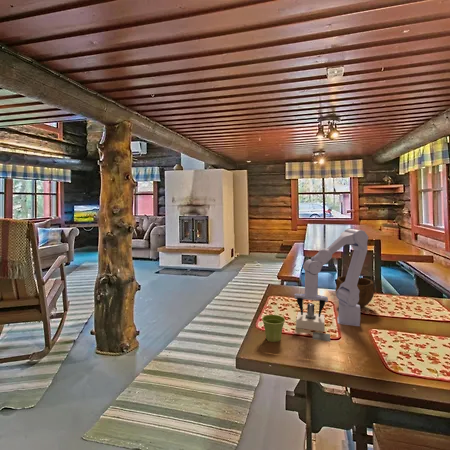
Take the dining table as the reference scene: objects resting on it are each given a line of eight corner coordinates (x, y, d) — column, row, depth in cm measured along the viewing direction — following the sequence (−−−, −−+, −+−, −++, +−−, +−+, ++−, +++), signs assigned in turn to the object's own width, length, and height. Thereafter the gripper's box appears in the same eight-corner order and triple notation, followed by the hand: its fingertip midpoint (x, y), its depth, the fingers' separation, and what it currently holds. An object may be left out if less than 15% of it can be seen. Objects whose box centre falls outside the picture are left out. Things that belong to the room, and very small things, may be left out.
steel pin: (313, 324, 140) (314, 303, 139) (313, 327, 137) (314, 306, 137) (307, 324, 141) (307, 303, 140) (306, 326, 138) (307, 305, 137)
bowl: (375, 304, 166) (376, 277, 165) (370, 315, 150) (371, 286, 149) (339, 298, 176) (340, 273, 175) (331, 308, 161) (332, 281, 159)
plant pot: (279, 346, 120) (280, 325, 119) (258, 340, 125) (258, 320, 124) (288, 337, 128) (288, 317, 127) (267, 332, 133) (267, 313, 132)
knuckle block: (324, 323, 142) (324, 314, 142) (324, 331, 133) (324, 323, 132) (297, 319, 146) (298, 311, 146) (296, 328, 136) (296, 319, 136)
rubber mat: (330, 334, 130) (330, 334, 130) (330, 342, 123) (330, 341, 123) (313, 332, 132) (313, 331, 132) (312, 339, 126) (312, 338, 126)
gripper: (294, 287, 136) (293, 316, 137) (328, 290, 132) (327, 320, 133) (295, 283, 143) (295, 311, 144) (328, 285, 138) (327, 314, 139)
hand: (310, 315), depth 139 cm, fingers open, 7 cm apart
